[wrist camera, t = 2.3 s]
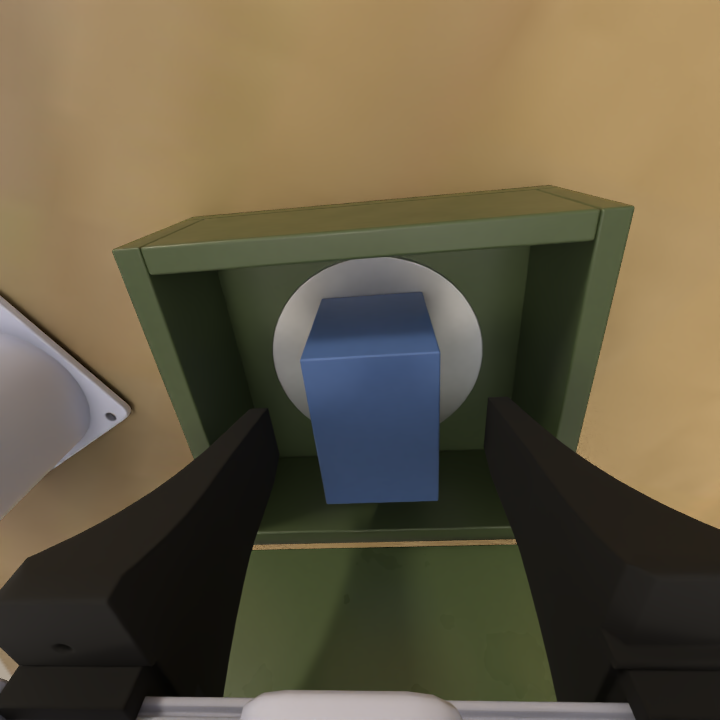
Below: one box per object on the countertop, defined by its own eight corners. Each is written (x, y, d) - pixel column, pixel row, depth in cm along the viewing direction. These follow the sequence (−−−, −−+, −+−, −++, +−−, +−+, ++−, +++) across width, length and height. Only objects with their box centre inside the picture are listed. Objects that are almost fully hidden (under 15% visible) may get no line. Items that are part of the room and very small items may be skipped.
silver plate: (352, 463, 20) (352, 467, 20) (230, 332, 17) (228, 335, 16) (516, 381, 17) (518, 385, 17) (411, 205, 14) (411, 206, 14)
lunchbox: (191, 217, 15) (110, 249, 11) (551, 184, 14) (636, 205, 10) (260, 458, 21) (227, 546, 17) (515, 448, 20) (555, 539, 16)
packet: (320, 298, 15) (298, 360, 11) (422, 291, 15) (440, 351, 11) (338, 418, 18) (326, 504, 14) (423, 414, 18) (438, 501, 14)
